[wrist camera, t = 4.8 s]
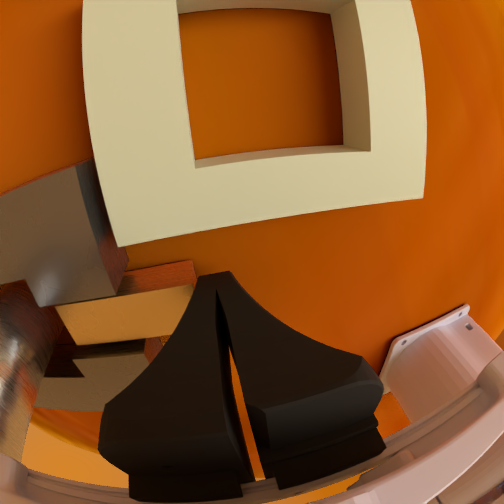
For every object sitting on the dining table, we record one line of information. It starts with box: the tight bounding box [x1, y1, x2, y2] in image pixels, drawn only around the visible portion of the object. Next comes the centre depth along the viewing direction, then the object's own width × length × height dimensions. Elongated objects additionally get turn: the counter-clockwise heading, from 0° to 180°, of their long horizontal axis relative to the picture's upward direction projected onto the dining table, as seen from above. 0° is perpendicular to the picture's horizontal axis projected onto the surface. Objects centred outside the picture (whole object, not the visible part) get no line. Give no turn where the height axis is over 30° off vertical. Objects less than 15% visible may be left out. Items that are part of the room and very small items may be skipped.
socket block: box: [0, 157, 163, 412], centre depth 9 cm, size 12×12×2 cm
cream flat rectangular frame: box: [82, 0, 427, 247], centre depth 8 cm, size 12×10×2 cm
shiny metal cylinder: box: [0, 279, 64, 463], centre depth 7 cm, size 4×4×9 cm
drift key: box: [55, 260, 197, 345], centre depth 10 cm, size 6×2×2 cm, turn 95°
